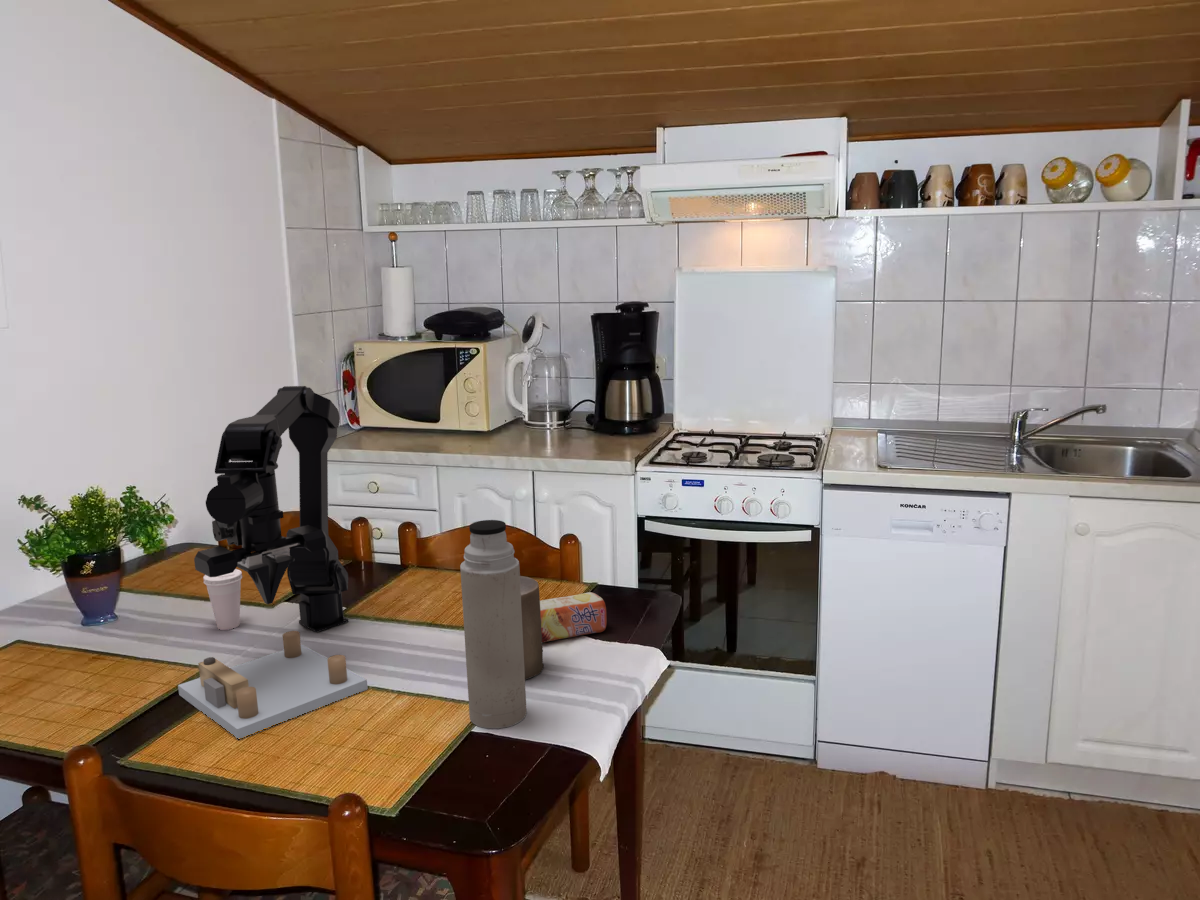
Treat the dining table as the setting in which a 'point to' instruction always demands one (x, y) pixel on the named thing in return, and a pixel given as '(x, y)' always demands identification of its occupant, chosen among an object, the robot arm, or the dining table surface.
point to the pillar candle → (531, 627)
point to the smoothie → (225, 598)
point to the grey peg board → (276, 688)
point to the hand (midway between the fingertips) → (268, 603)
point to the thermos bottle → (493, 627)
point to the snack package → (572, 616)
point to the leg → (223, 678)
